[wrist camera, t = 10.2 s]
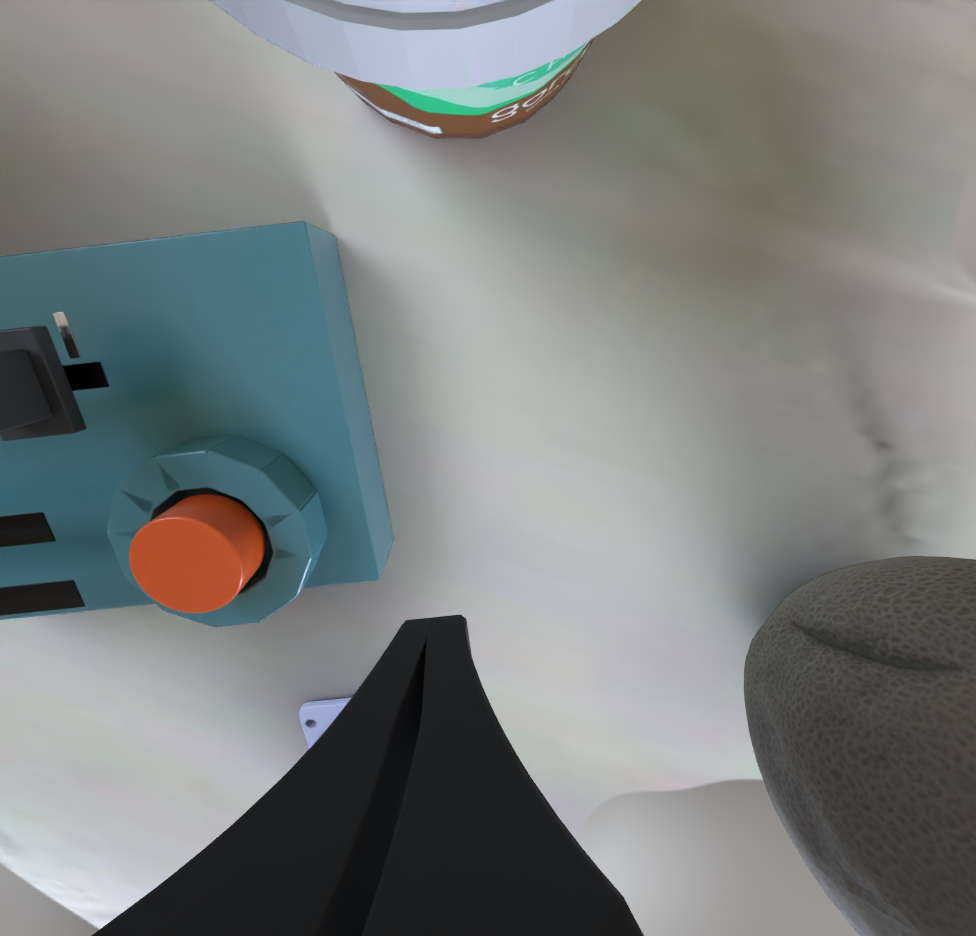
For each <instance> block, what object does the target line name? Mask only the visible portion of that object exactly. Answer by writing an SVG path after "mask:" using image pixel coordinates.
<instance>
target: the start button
mask: <svg viewBox="0 0 976 936" xmlns="http://www.w3.org/2000/svg"><path fill="white" fill-rule="evenodd" d="M265 553H266V540H265V535H264V532H263V529H262V527H261V525H260V523H259V522H258V520H257V519H256V518H255V516H254V515H253V514H252V513H251V512H250V511H249V510H248V509H247V508H245V507H244V506H242V505H241V504H239V503H238V502H236V501H234V500H232V499H229V498H227V497H223V496H219V495H213V494H200V495H194V496H190V497H187V498H185V499H183V500H181V501H180V502H178V503H177V504H175V505H174V506H172V507H171V508H169V509H168V510H166V511H165V512H163V513H162V514H160V515H159V516H157V517H156V518H155V519H153V520H152V521H150V522H149V523H147V524H146V525H144V526H143V527H142V528H141V529H140V530H139V531H138V532H137V533H136V535H135V536H134V538H133V540H132V543H131V546H130V550H129V563H130V568H131V571H132V573H133V576H134V578H135V580H136V581H137V583H138V584H139V586H140V587H141V588H142V589H143V590H144V591H145V592H146V593H147V594H148V595H149V596H150V597H151V598H153V599H154V600H155V601H157V602H159V603H160V604H162V605H164V606H166V607H168V608H171V609H173V610H177V611H180V612H186V613H205V612H210V611H214V610H217V609H219V608H221V607H223V606H225V605H227V604H228V603H229V602H231V601H232V600H233V599H234V598H235V596H236V595H237V594H238V593H239V592H240V590H241V589H242V588H243V587H244V586H245V584H246V583H247V582H248V581H249V579H250V578H251V577H252V576H253V574H254V573H255V572H256V571H257V570H258V568H259V567H260V565H261V564H262V562H263V560H264V557H265Z"/></svg>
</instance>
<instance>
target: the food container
mask: <svg viewBox="0 0 976 936" xmlns="http://www.w3.org/2000/svg"><path fill="white" fill-rule="evenodd" d="M210 1H211V2H212V3H214V4H215V5H216V6H218V7H219V8H220V9H222V10H223V11H225V12H226V13H227V14H229V15H230V16H231V17H233V18H234V19H235V20H237V21H238V22H239V23H241V24H242V25H243V26H245V27H246V28H247V29H249V30H250V31H252V32H253V33H254V34H256V35H257V36H259V37H261V38H263V39H265V40H267V41H269V42H270V43H272V44H274V45H276V46H278V47H280V48H282V49H283V50H285V51H287V52H289V53H291V54H293V55H295V56H296V57H298V58H300V59H302V60H304V61H306V62H308V63H310V64H313V65H316V66H319V67H322V68H325V69H328V70H331V71H333V72H334V73H335V74H336V75H337V76H338V77H339V78H340V79H341V80H342V81H343V82H344V83H345V84H346V85H347V86H348V87H349V88H350V89H351V90H352V91H353V92H354V93H355V94H356V95H357V96H358V97H359V98H360V99H361V100H362V101H364V102H365V103H366V104H368V105H369V106H371V107H372V108H373V109H375V110H376V111H377V112H379V113H380V114H381V115H383V116H384V117H385V118H387V119H388V120H389V121H391V122H393V123H396V124H399V125H401V126H404V127H407V128H409V129H412V130H415V131H417V132H420V133H423V134H426V135H428V136H431V137H434V138H484V137H487V136H489V135H492V134H495V133H497V132H500V131H502V130H505V129H508V128H510V127H513V126H515V125H518V124H521V123H523V122H525V121H526V120H527V119H529V118H530V117H531V116H532V115H534V114H535V113H536V112H537V111H538V110H540V109H541V108H542V107H543V106H545V105H546V104H547V103H548V102H549V101H551V100H552V99H553V98H554V97H555V96H556V95H557V93H558V92H559V91H560V90H561V88H562V87H563V86H564V85H565V84H566V82H567V81H568V80H569V79H570V77H571V76H572V74H573V72H574V71H575V69H576V67H577V66H578V64H579V62H580V61H581V59H582V58H583V56H584V54H585V53H586V51H587V49H588V48H589V46H590V44H591V43H592V41H593V39H594V38H595V37H596V36H597V35H599V34H600V33H602V32H603V31H605V30H606V29H608V28H609V27H611V26H613V25H614V24H616V23H617V22H618V21H619V20H621V19H622V18H623V17H624V16H625V15H626V14H627V13H628V12H629V11H630V10H631V9H633V8H634V7H635V6H636V5H637V4H638V3H639V2H640V1H641V0H210Z"/></svg>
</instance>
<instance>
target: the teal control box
mask: <svg viewBox="0 0 976 936" xmlns="http://www.w3.org/2000/svg"><path fill="white" fill-rule="evenodd" d="M58 312H65V313H66V316H67V318H68V321H69V323H70V326H71V329H72V331H73V334H74V337H75V339H76V342H77V345H78V347H79V350H80V353H81V355H82V358H75V359H70V357H69V355H68V352H67V349H66V347H65V344H64V342H63V339H62V337H61V334H60V331H59V329H58V326H57V324H56V321H55V318H54V316H53V313H58ZM30 326H46V327H47V328H48V330H49V333H50V336H51V338H52V341H53V343H54V346H55V348H56V351H57V353H58V356H59V358H60V361H61V363H62V366H64V365H73V364H81V363H90V362H99V361H101V364H102V367H103V369H104V372H105V375H106V378H107V380H108V383H109V386H110V387H104V388H95V389H86V390H77V391H73V394H74V397H75V399H76V402H77V404H78V407H79V409H80V412H81V414H82V417H83V419H84V422H85V424H86V427H87V429H85V430H83V431H80V432H77V433H74V434H65V435H56V436H47V437H38V438H29V439H20V440H11V441H3V440H2V438H1V436H0V516H6V515H16V514H25V513H34V512H43V513H44V515H45V517H46V519H47V521H48V524H49V526H50V528H51V530H52V533H53V535H54V537H55V539H56V541H54V542H45V543H36V544H27V545H17V546H8V547H0V587H8V586H18V585H27V584H37V583H46V582H56V581H65V580H74V581H75V584H76V586H77V588H78V590H79V592H80V595H81V597H82V599H83V601H84V604H85V607H78V608H68V609H59V610H49V611H40V612H30V613H21V614H11V615H2V616H0V620H4V619H14V618H23V617H33V616H42V615H52V614H61V613H71V612H80V611H90V610H99V609H109V608H119V607H128V606H138V605H147V604H156V605H158V606H159V607H160V608H161V609H162V610H165V611H166V612H169V613H172V614H175V615H178V616H181V617H184V618H187V619H190V620H193V621H196V622H199V623H203V624H206V625H209V626H214V627H221V626H230V625H240V624H249V623H259V622H261V621H263V620H265V619H266V618H268V617H269V616H271V615H272V614H274V613H275V612H276V611H278V610H279V609H281V608H282V607H284V606H285V605H286V604H288V603H289V602H291V601H292V600H294V599H295V598H296V597H297V596H298V594H299V593H300V592H301V590H302V588H309V587H318V586H328V585H338V584H347V583H357V582H366V581H376V580H380V577H381V575H382V572H383V569H384V566H385V563H386V560H387V557H388V555H389V552H390V549H391V546H392V543H393V540H394V538H393V533H392V528H391V523H390V517H389V512H388V507H387V502H386V497H385V491H384V486H383V481H382V476H381V471H380V465H379V460H378V455H377V450H376V445H375V439H374V434H373V429H372V424H371V419H370V413H369V408H368V403H367V398H366V392H365V387H364V382H363V377H362V372H361V366H360V361H359V356H358V351H357V346H356V340H355V335H354V330H353V325H352V320H351V314H350V309H349V304H348V299H347V294H346V288H345V283H344V278H343V273H342V267H341V262H340V257H339V252H338V247H337V241H336V237H335V235H333V234H331V233H329V232H327V231H324V230H322V229H320V228H318V227H316V226H314V225H311V224H309V223H307V222H305V221H299V222H291V223H282V224H274V225H265V226H257V227H248V228H239V229H231V230H222V231H214V232H205V233H197V234H188V235H179V236H171V237H162V238H154V239H145V240H137V241H128V242H120V243H111V244H102V245H94V246H85V247H77V248H68V249H60V250H51V251H42V252H34V253H25V254H17V255H8V256H0V330H4V329H13V328H22V327H30ZM200 494H213V495H219V496H223V497H227V498H229V499H232V500H234V501H236V502H238V503H239V504H241V505H242V506H244V507H245V508H247V509H248V510H249V511H250V512H251V513H252V514H253V515H254V516H255V518H256V519H257V520H258V522H259V523H260V525H261V527H262V529H263V532H264V535H265V540H266V553H265V557H264V560H263V562H262V564H261V565H260V567H259V568H258V570H257V571H256V572H255V573H254V574H253V576H252V577H251V578H250V579H249V581H248V582H247V583H246V584H245V586H244V587H243V588H242V589H241V590H240V592H239V593H238V594H237V595H236V596H235V598H234V599H233V600H232V601H231V602H229V603H228V604H227V605H225V606H223V607H221V608H219V609H217V610H214V611H210V612H205V613H186V612H180V611H177V610H173V609H171V608H168V607H166V606H164V605H162V604H160V603H159V602H157V601H155V600H154V599H153V598H151V597H150V596H149V595H148V594H147V593H146V592H145V591H144V590H143V589H142V588H141V587H140V586H139V584H138V583H137V581H136V580H135V578H134V576H133V573H132V571H131V568H130V563H129V550H130V546H131V543H132V540H133V538H134V536H135V535H136V533H137V532H138V531H139V530H140V529H141V528H142V527H143V526H144V525H146V524H147V523H149V522H150V521H152V520H153V519H155V518H156V517H157V516H159V515H160V514H162V513H163V512H165V511H166V510H168V509H169V508H171V507H172V506H174V505H175V504H177V503H178V502H180V501H181V500H183V499H185V498H187V497H190V496H194V495H200Z"/></svg>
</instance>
